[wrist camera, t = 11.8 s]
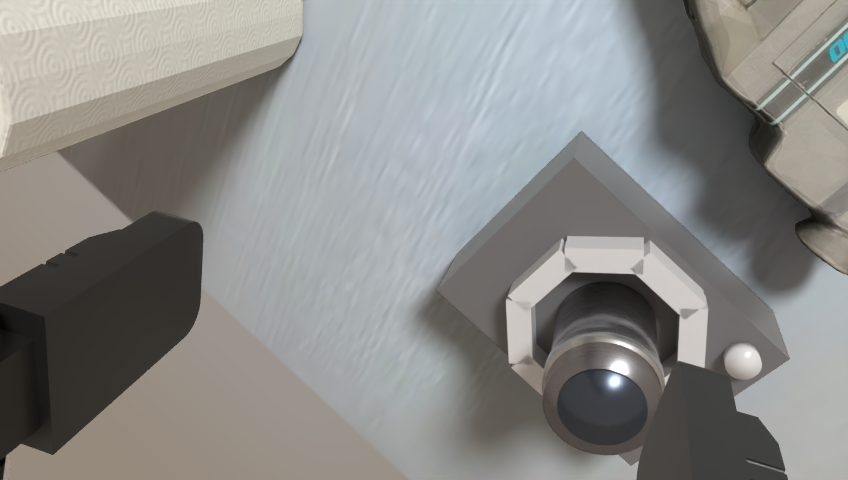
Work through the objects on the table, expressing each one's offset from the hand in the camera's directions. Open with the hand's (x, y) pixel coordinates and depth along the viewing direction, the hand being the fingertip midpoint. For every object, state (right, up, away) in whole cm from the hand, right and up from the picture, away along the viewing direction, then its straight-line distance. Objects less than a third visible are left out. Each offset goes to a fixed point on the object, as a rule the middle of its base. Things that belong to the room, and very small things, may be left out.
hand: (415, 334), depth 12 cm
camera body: (+10, -1, +29) cm, 31 cm away
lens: (+9, -3, +24) cm, 26 cm away
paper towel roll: (-9, +14, +28) cm, 33 cm away
